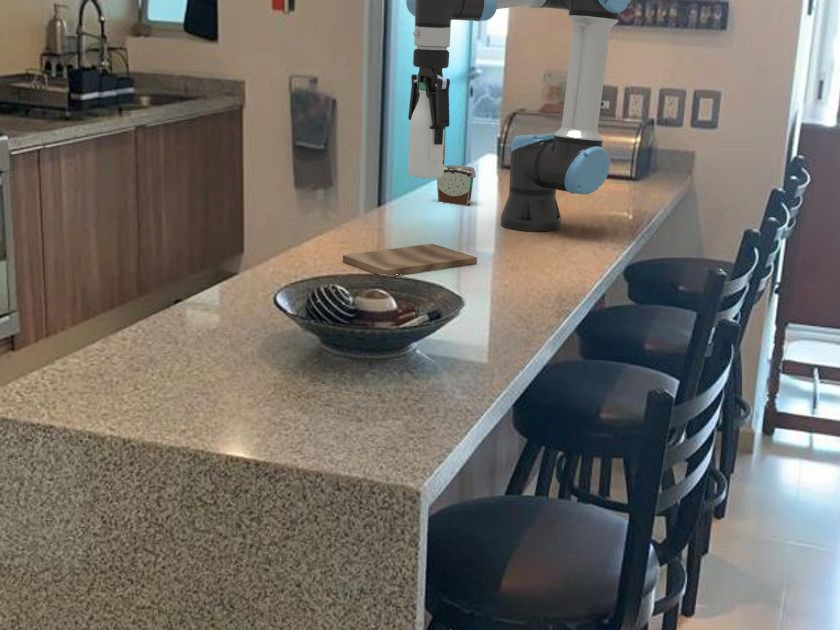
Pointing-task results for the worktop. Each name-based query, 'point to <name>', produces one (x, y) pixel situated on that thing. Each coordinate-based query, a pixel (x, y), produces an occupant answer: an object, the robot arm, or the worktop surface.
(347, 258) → the board
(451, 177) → the food container
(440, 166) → the milk bottle
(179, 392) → the worktop surface
